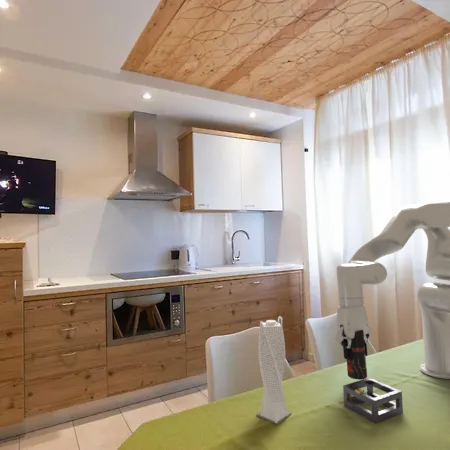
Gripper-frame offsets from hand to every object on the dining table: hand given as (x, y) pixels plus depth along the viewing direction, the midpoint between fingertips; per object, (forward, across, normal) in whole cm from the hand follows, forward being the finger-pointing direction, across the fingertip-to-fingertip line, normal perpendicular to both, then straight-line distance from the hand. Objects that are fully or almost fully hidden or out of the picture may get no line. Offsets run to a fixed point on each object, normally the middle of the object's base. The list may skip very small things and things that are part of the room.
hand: (355, 356), depth 111 cm
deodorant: (+6, 0, 0) cm, 6 cm away
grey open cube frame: (+10, +8, +12) cm, 17 cm away
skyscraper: (+9, +34, +1) cm, 35 cm away
